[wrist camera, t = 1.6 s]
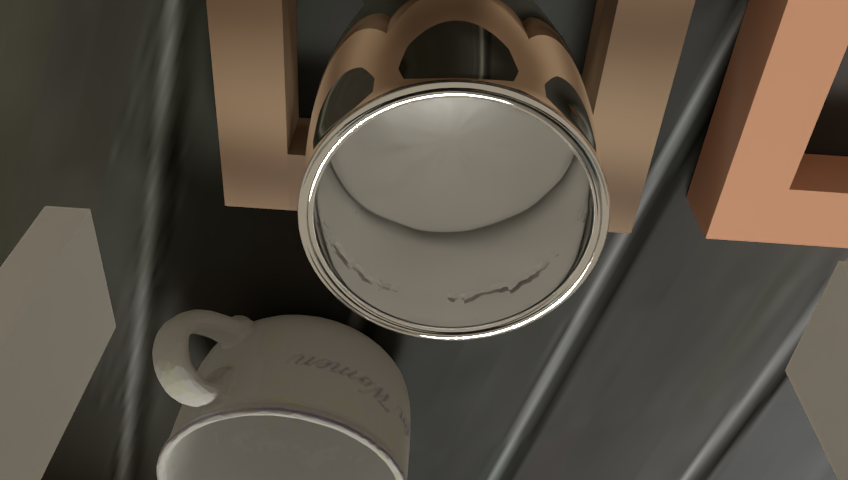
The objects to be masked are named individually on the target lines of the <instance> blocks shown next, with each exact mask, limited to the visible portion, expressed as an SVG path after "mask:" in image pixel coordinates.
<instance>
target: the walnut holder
mask: <svg viewBox="0 0 848 480" xmlns="http://www.w3.org/2000/svg"><path fill="white" fill-rule="evenodd" d="M694 4H695V0H597V3H596V8H595V13H594V18H593V23H592V28H591V33H590V38H589V43H588V47H587V52H586V57H585V62H584V67H583V72H582V80H583V82H584V85H585V89H586V92H587V96H588V99H589V103H590V106H591V110H592V114H593V117H594V122H595V127H596V133H597V138H598V143H599V149H600V156H601V163H602V169H603V172H604V174H605V178H606V181H607V185H608V190H609V197H610V221H609V228H608V232H619V233H631V231H632V227H633V224H634V220H635V217H636V213H637V209H638V206H639V202H640V199H641V195H642V191H643V188H644V184H645V181H646V177H647V173H648V170H649V166H650V163H651V159H652V155H653V152H654V148H655V145H656V141H657V137H658V134H659V130H660V126H661V123H662V119H663V116H664V112H665V108H666V105H667V101H668V98H669V94H670V90H671V87H672V83H673V80H674V76H675V72H676V69H677V65H678V62H679V58H680V54H681V51H682V47H683V44H684V40H685V36H686V33H687V29H688V26H689V22H690V18H691V15H692V11H693V7H694ZM206 5H207V16H208V26H209V37H210V48H211V59H212V70H213V81H214V91H215V102H216V113H217V124H218V135H219V146H220V156H221V167H222V178H223V189H224V200H225V206H234V207H249V208H264V209H279V210H293V211H297V209H298V197H299V191H300V186H301V183H302V179H303V173H304V162H305V152H306V145H307V137H308V130H309V124H310V119H311V118H299V97H298V56H297V15H296V0H206Z"/></svg>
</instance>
